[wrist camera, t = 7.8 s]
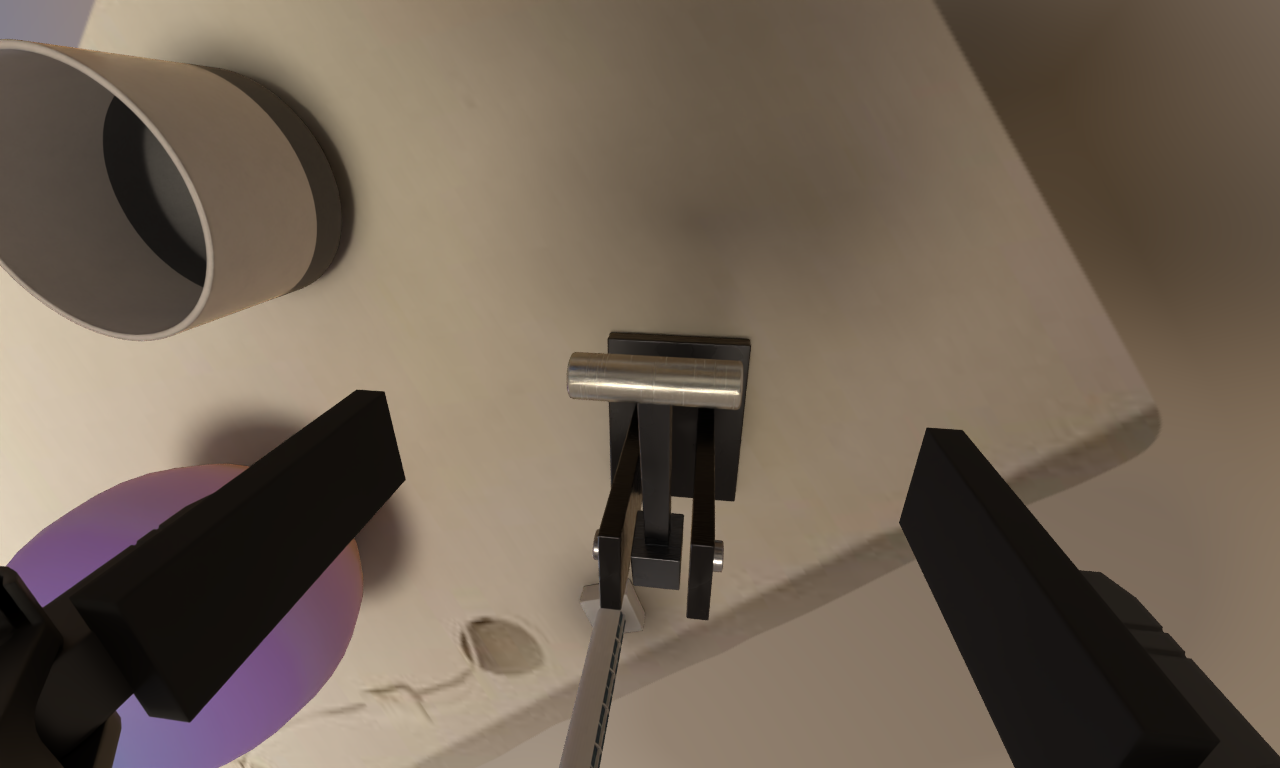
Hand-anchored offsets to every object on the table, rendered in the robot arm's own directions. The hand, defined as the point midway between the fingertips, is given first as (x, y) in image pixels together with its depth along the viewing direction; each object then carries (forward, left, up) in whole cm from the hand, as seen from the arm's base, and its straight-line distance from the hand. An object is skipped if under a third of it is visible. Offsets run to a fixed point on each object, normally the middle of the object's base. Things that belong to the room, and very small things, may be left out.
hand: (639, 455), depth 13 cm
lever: (+5, +1, -7) cm, 9 cm away
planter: (+4, -27, -21) cm, 34 cm away
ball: (+31, -24, -21) cm, 44 cm away
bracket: (+10, +3, -21) cm, 23 cm away
